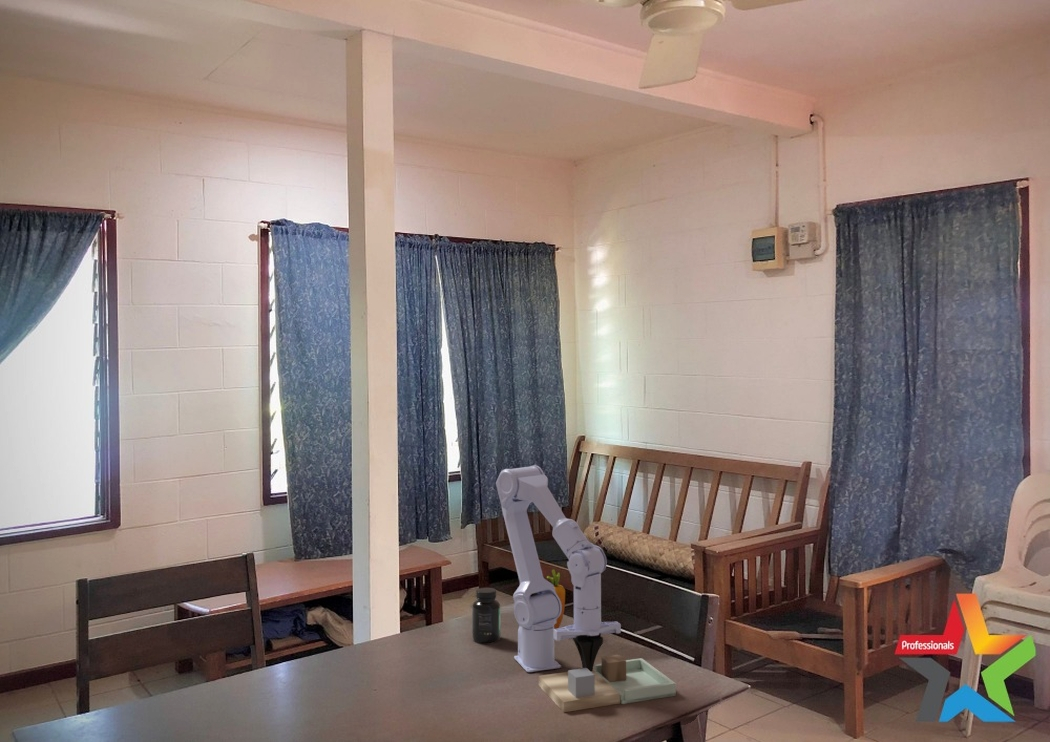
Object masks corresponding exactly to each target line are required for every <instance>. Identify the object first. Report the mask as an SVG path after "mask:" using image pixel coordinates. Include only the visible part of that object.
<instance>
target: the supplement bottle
mask: <svg viewBox="0 0 1050 742" xmlns="http://www.w3.org/2000/svg"><path fill="white" fill-rule="evenodd" d="M475 594H476V595H475V599H476V600H475V601H474V602H473V603H472V604H471V605H472V606H471V607H472V608H471V610H472V611H471V613H472V614H471V616H472V619H471V620H472V622H471V623H472V624H471V625H472V628H471V629H472V630H471V631H472V636H471V637H472V640H473V641H474V642H475V643H478V644H485V645H487V644H495V643H497V642H499V641H500V640H501V633H502V632H501V603H500V601H499V600H497V589H495V588H493V587H481V588H480V587H479V588H478V589H476V592H475Z"/></svg>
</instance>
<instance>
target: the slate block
mask: <svg viewBox="0 0 1050 742" xmlns="http://www.w3.org/2000/svg"><path fill="white" fill-rule="evenodd" d="M567 672H568V691H569V692H570V693H571V694H572V695H574V696H575V697H576V698H578V697H585V696H591V695H595V675H594V674H593V673H592V672H591V671H589V670H588V669H587V668H583V667H582V668H576V669H569V670H567Z"/></svg>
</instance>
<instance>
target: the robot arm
mask: <svg viewBox="0 0 1050 742" xmlns="http://www.w3.org/2000/svg"><path fill="white" fill-rule="evenodd" d="M548 485H549V478H548V477H547V475H545V473H544V471H543V469H542V468H541V467H540V466H539V465H535V464H534V465H530V466H524V467H516V468H505V469H502V470H501V471H500V473H499V474H498V477H497V479H496V482H495V486H496V490H497V493H498V497H499V501H500V506H501V510H502V517H503V518H504V522H505V523H504V524H505V528H506V531H507V536H508V539H509V544H510V548H511V553H512V555H513V560H514V564H515V568H516V569H515V570H516V573H517V576H518V581H519V586H518V587H517V589H516V590H515V591H514V593H513V595H512V599H513V603H514V604H513V614H514V618H515V620H516V622H517V624H518V629H517V655H514V657H513V659H514V660H515V661H516V662H517V663H518V665H520V666H521V667H522V668H523V670H525V672H527V673H533V672H540V671H546V670H547V671H548V670H554V669H555V670H556V669H560V668H562V664H559V662H558V661H557V660H555V641H557V642H560V641H562V640H566V639H572V640H573V642H574V644H575V646H576V648H577V651H578V654H579V657H580V661H581V666H582V668H587V669H588V670H589V671H594V667H595V662H596V657H597V655H598V653H599V650H600V648H601V647H602V645H603V643H604V638H603V637H602V636H601V635H607V634H613V633H614V634H621V631H622V630H621V629H622V628H621V627H622V625H621V623H620V622H618V621H602V573H603V572H604V571H606V568H607V560H608V559H607V556H606V554H605V552H604V550H603V548H601V547H600V546H598V545H596V544H594V543H593V542H590V541H589V540H588V538H587V536H586V534H585V533H584V532H583V531H582V530H581V527H580V526H579V524H578V523H577V521H575V520H574V519H571V518H567V517H566V516H565V514H564V512H563V510H562V509H561V507H560V505H559V504H558V502H557V500H556V499H555V497H554V495H553V493H552V492H551V490H550V489H549V487H548ZM531 503H533V504H534V505H535V507H536V508H537V509H538V510H539V512H540V513H541V514H542V516H544V518H545V519H546V521H547V522H548V523H549V525H551V527H552V532H551V533H552V537H553V539H554V540H555V542H556V543H557V545H558V546H559V548H560V549H561V551H562V553H563V554H564V555H565V556H566V558H567V559H568V561H567V562H566V566H567V569H568V572H569V574H570V577H571V580H570V582H571V583H572V585H573V624H569V625H566V626H563V627H559V628H557V629H554V624H556V623H557V618H558V617H559V616H560V615H561V611H562V605H561V601H560V599H559V597H558V595H557V594H556V592H555V589H554V585H553V584H552V582H551V581H548V580H547V579H545V578H544V574H543V570H542V568H541V562H540V559H539V555H538V551H537V547H536V542H535V539H534V535H533V531H532V527H531V523H530V519H529V516H528V512H527V510H528V508H529V505H530V504H531ZM532 594H535V595H532ZM531 595H532V596H531Z"/></svg>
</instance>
